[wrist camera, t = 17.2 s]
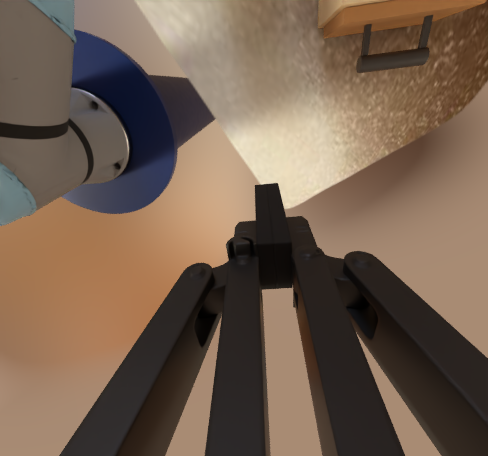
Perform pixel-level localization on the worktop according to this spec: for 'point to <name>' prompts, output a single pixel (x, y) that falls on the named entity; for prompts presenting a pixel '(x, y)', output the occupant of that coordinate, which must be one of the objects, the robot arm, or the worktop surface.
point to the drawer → (393, 16)
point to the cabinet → (336, 8)
